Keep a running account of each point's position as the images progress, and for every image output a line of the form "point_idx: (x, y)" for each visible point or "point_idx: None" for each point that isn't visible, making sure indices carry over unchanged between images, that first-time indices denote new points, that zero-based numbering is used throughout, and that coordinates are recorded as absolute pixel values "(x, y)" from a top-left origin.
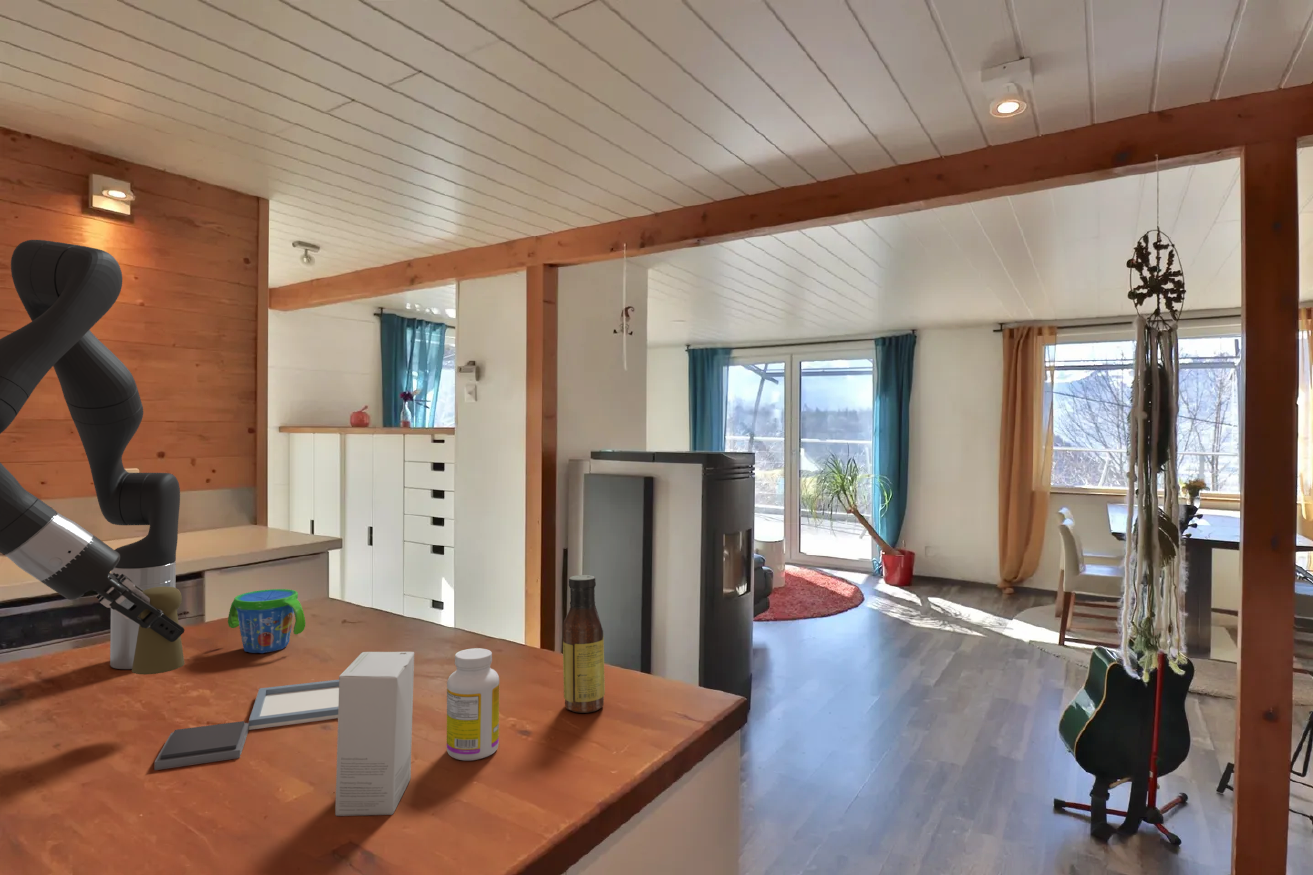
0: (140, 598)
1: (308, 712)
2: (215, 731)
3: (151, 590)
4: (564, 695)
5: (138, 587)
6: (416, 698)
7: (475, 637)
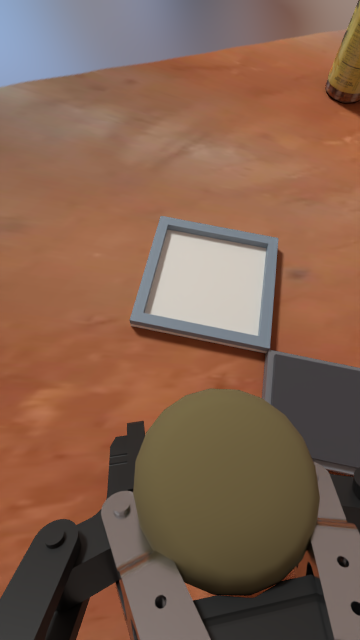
0: (310, 575)
1: (273, 280)
2: (303, 393)
3: (272, 522)
4: (350, 89)
5: (170, 608)
6: (248, 182)
7: (60, 80)
